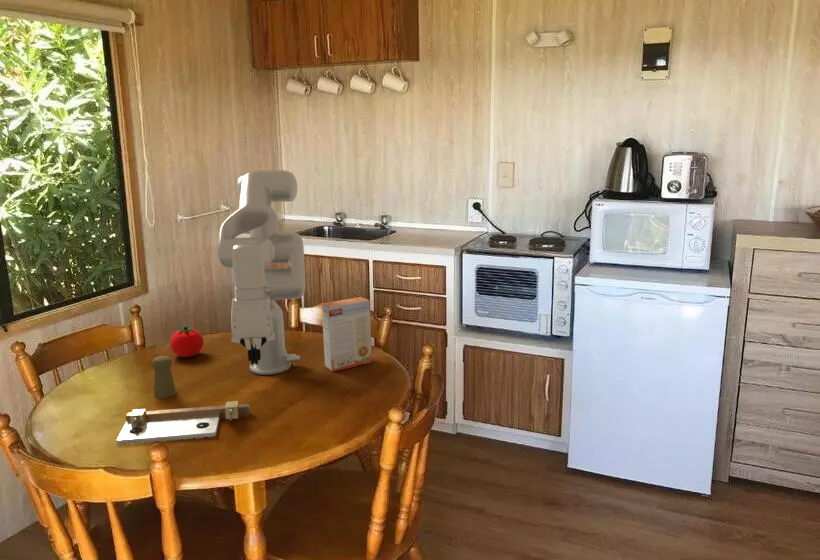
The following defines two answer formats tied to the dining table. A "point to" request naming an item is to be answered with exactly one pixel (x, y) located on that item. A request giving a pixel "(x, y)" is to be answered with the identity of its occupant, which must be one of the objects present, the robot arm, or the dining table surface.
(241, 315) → the robot arm
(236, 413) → the block
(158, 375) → the salt shaker
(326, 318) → the cracker box
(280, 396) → the dining table surface
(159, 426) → the hole plate
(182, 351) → the tomato
